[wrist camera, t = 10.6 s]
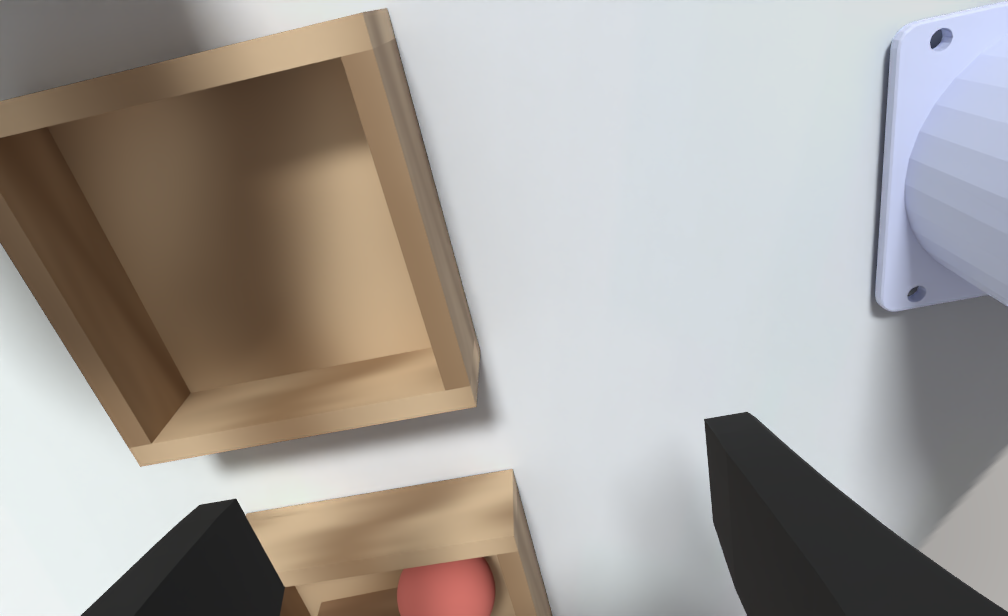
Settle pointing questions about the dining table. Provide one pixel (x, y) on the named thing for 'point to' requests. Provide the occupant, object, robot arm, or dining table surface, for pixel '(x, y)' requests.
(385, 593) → the walnut block
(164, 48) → the dining table surface
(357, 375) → the box empty
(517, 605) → the box with ball
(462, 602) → the red ball
